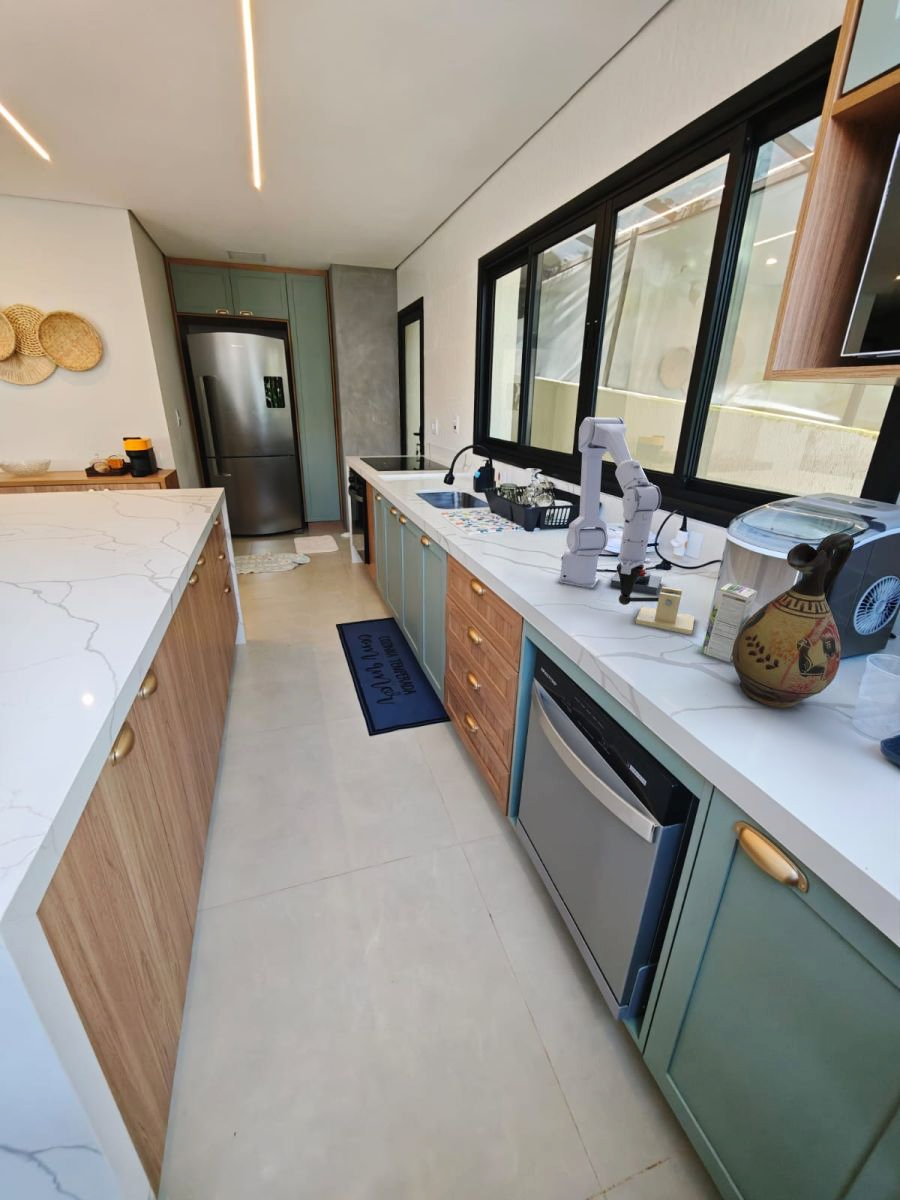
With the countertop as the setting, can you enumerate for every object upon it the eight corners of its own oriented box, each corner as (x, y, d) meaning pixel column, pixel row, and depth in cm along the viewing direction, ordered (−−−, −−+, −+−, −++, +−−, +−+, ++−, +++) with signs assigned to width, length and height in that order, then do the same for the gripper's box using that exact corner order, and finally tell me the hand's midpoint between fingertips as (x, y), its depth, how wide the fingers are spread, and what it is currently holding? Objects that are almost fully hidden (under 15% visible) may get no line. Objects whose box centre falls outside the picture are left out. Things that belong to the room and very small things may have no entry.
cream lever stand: (635, 623, 118) (640, 592, 115) (641, 610, 125) (646, 581, 122) (691, 635, 112) (698, 603, 110) (693, 620, 120) (700, 590, 117)
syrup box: (710, 644, 108) (726, 581, 103) (740, 654, 105) (758, 589, 99) (700, 653, 105) (716, 588, 99) (730, 663, 101) (748, 597, 95)
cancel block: (610, 587, 139) (612, 573, 138) (617, 576, 148) (619, 563, 146) (656, 595, 134) (658, 581, 133) (660, 584, 143) (663, 570, 141)
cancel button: (629, 574, 139) (630, 568, 138) (632, 570, 142) (633, 564, 141) (643, 576, 137) (644, 570, 137) (645, 572, 140) (646, 566, 140)
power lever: (618, 606, 121) (617, 595, 120) (620, 602, 124) (619, 591, 123) (675, 606, 115) (675, 595, 114) (677, 602, 117) (676, 591, 116)
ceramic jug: (783, 729, 81) (843, 551, 70) (705, 681, 94) (744, 525, 83) (848, 706, 88) (913, 540, 76) (766, 665, 101) (811, 517, 89)
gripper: (648, 549, 108) (638, 607, 113) (657, 534, 120) (647, 587, 125) (615, 544, 111) (606, 601, 116) (626, 530, 123) (618, 582, 128)
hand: (625, 593), depth 121 cm, fingers closed, pressing on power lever
